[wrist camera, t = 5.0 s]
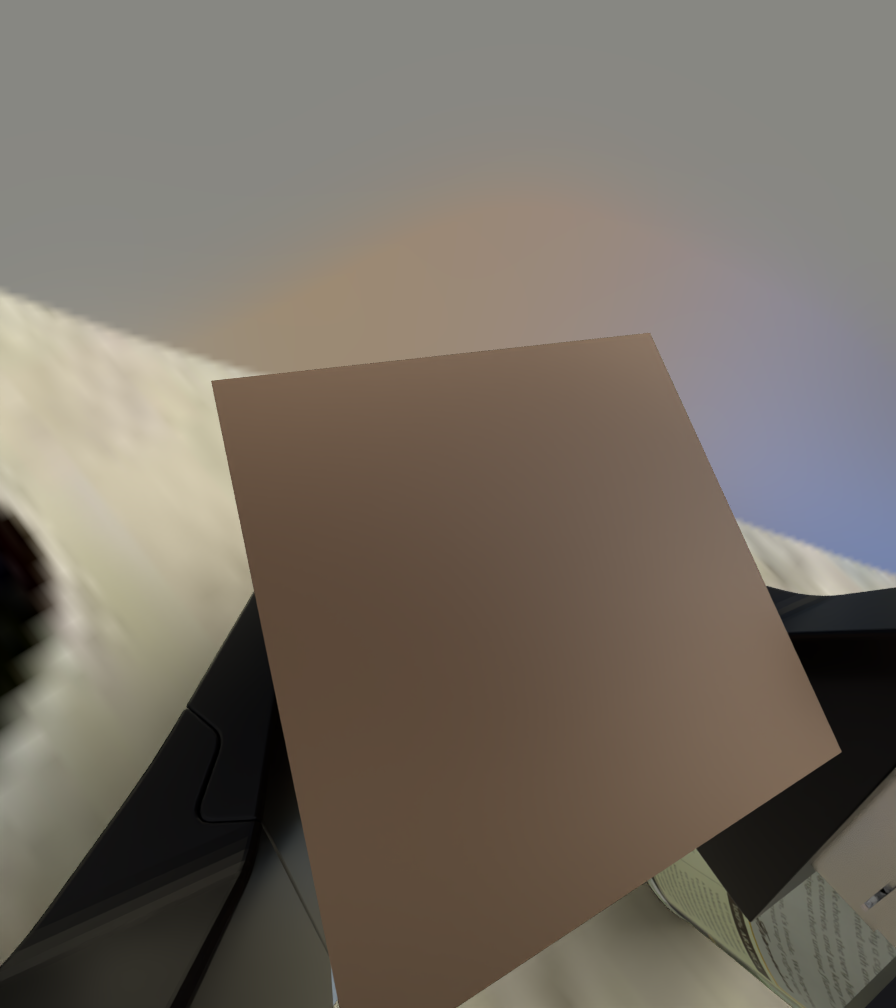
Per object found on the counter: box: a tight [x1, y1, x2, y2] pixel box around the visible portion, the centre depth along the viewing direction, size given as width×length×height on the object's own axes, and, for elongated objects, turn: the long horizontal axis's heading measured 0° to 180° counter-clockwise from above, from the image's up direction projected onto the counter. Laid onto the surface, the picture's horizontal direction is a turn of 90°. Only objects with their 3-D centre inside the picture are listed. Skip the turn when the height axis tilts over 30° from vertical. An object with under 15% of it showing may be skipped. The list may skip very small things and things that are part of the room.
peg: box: [211, 333, 842, 1008], centre depth 9 cm, size 4×4×12 cm
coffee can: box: [648, 849, 896, 1008], centre depth 17 cm, size 10×10×14 cm
